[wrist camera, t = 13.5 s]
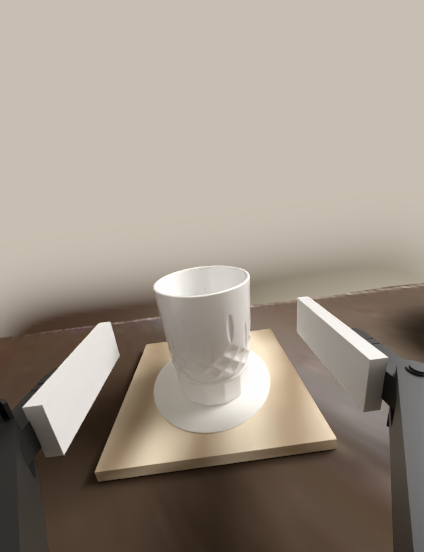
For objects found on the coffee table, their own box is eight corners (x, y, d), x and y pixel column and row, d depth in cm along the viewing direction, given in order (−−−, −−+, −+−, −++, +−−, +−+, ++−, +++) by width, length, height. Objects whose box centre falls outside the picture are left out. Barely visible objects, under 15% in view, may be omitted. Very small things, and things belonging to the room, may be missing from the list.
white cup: (194, 432, 15) (171, 307, 13) (162, 369, 22) (143, 279, 19) (274, 383, 19) (271, 276, 16) (226, 342, 26) (217, 261, 23)
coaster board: (98, 481, 14) (93, 471, 14) (148, 350, 27) (146, 343, 27) (335, 448, 14) (336, 437, 14) (270, 334, 28) (269, 328, 27)
